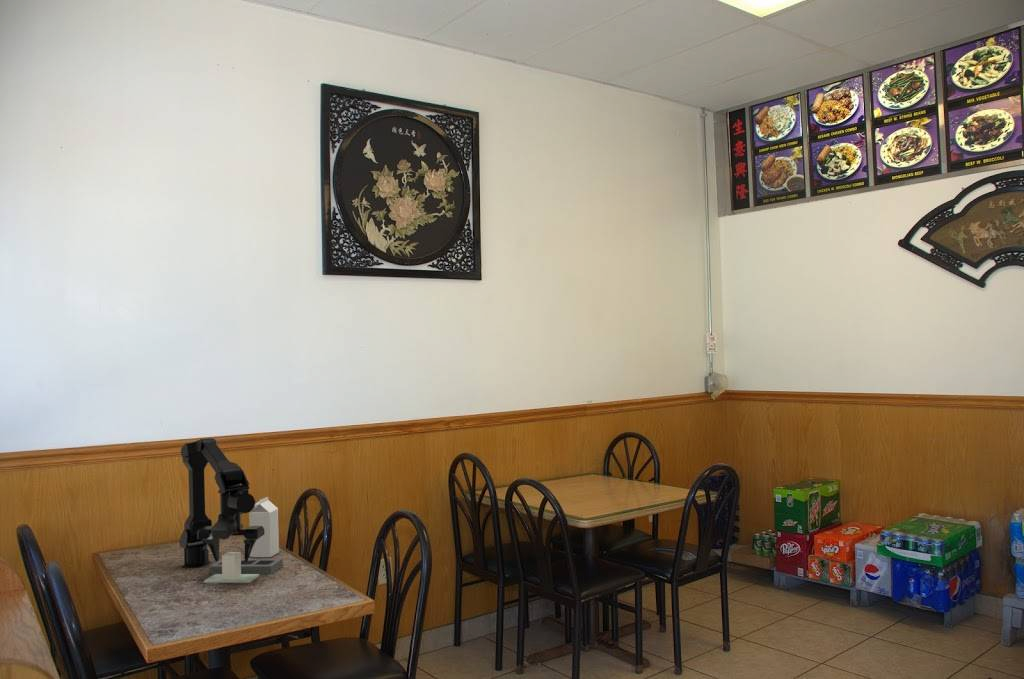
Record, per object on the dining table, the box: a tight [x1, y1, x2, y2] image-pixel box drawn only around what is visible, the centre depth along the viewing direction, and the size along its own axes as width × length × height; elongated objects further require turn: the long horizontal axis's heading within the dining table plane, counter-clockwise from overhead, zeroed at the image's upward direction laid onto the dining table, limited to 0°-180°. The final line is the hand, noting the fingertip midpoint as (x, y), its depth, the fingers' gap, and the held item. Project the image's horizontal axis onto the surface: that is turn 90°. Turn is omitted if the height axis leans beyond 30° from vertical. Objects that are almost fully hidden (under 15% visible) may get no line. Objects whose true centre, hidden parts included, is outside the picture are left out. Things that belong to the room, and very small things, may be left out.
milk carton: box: [248, 496, 280, 558], centre depth 261 cm, size 7×7×19 cm
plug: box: [221, 551, 242, 579], centre depth 233 cm, size 4×4×7 cm
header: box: [208, 558, 284, 575], centre depth 242 cm, size 20×9×2 cm, turn 85°
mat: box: [203, 574, 260, 584], centre depth 232 cm, size 14×7×1 cm, turn 84°
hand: (231, 561), depth 233 cm, fingers open, 9 cm apart
